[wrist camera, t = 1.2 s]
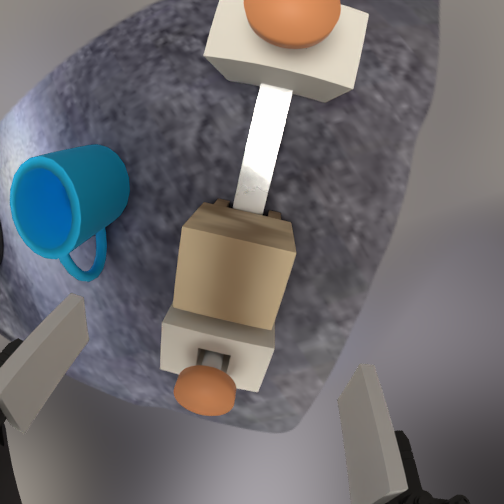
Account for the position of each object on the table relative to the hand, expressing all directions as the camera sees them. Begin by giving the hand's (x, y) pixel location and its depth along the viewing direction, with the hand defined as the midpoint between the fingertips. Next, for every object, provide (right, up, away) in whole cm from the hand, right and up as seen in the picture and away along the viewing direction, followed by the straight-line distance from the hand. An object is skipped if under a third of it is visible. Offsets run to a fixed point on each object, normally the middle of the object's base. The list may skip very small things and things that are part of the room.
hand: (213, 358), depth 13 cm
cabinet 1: (-1, 0, +16) cm, 17 cm away
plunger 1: (-1, -3, +10) cm, 10 cm away
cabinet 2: (+4, +20, +8) cm, 22 cm away
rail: (+2, +10, +12) cm, 16 cm away
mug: (-13, +9, +14) cm, 21 cm away
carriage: (+1, +6, +14) cm, 15 cm away
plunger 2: (+4, +17, +1) cm, 17 cm away
